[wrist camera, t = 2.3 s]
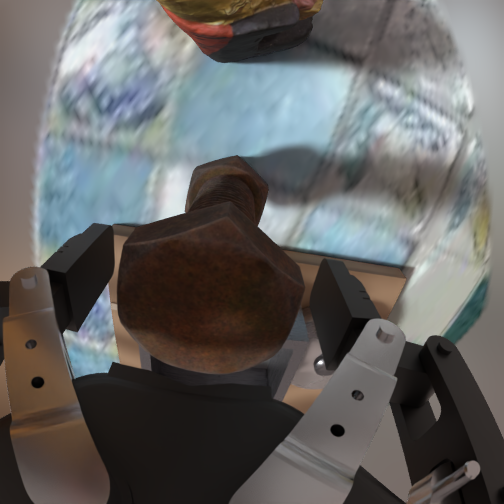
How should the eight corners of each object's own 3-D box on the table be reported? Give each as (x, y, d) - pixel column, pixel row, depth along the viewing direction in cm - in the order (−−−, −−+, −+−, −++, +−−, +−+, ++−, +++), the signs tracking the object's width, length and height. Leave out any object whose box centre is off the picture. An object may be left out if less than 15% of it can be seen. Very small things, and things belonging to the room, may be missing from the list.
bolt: (261, 135, 20) (290, 207, 7) (277, 200, 22) (318, 357, 9) (182, 157, 20) (76, 263, 7) (202, 219, 23) (151, 382, 10)
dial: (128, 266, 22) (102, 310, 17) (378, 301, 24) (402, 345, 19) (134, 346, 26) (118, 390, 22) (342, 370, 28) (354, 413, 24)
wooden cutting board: (113, 224, 23) (103, 234, 21) (398, 268, 25) (407, 280, 23) (133, 398, 34) (130, 410, 33) (315, 418, 37) (317, 430, 35)
